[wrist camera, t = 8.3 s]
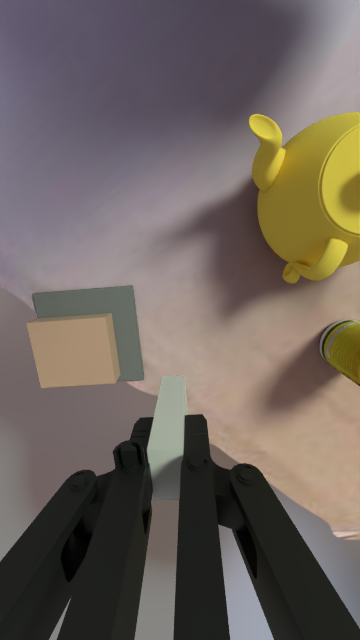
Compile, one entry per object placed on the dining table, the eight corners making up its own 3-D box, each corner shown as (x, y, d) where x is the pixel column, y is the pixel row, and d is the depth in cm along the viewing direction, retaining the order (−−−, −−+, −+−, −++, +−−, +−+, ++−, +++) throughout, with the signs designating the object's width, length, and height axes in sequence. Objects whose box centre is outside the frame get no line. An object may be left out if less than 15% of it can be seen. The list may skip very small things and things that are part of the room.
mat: (34, 293, 30) (32, 293, 30) (132, 285, 30) (132, 285, 29) (53, 384, 33) (52, 385, 33) (144, 378, 33) (143, 379, 32)
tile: (111, 312, 30) (39, 318, 31) (105, 317, 28) (26, 323, 28) (120, 373, 32) (52, 378, 32) (115, 383, 30) (40, 388, 30)
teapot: (196, 249, 29) (203, 242, 18) (249, 107, 25) (298, -14, 14) (353, 309, 30) (453, 338, 19) (423, 180, 27) (594, 122, 15)
